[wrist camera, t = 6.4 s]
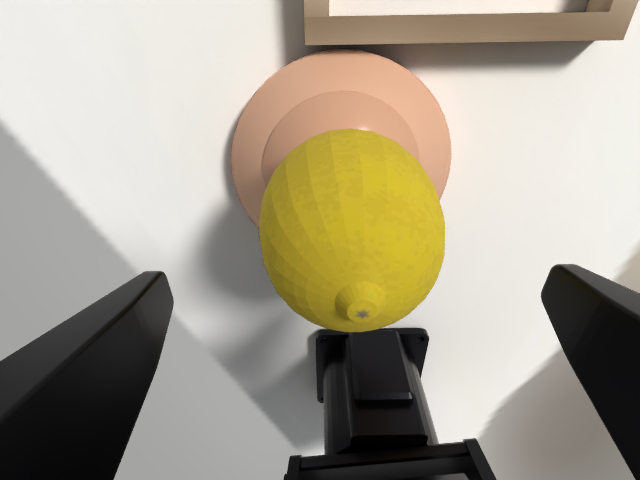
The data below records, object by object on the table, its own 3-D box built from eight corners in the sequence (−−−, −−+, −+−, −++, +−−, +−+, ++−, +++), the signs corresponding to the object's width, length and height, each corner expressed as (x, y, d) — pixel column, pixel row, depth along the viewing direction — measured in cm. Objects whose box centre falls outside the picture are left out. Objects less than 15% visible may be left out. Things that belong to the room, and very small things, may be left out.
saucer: (428, 250, 18) (433, 261, 17) (248, 253, 18) (245, 265, 17) (464, 46, 13) (474, 48, 12) (218, 50, 13) (212, 52, 12)
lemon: (253, 202, 15) (203, 353, 8) (309, 76, 12) (302, 148, 6) (365, 249, 17) (398, 411, 10) (436, 144, 14) (551, 268, 7)
